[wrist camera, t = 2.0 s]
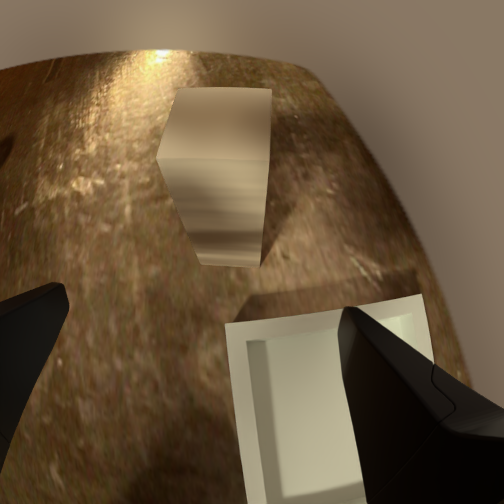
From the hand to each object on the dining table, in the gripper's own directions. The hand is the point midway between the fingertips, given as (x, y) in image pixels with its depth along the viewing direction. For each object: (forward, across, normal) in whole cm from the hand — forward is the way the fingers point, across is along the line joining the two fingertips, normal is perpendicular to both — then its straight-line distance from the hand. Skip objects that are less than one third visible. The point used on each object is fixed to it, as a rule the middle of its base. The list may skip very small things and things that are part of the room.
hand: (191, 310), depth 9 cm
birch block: (+15, 0, +4) cm, 16 cm away
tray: (+6, -8, +14) cm, 17 cm away
